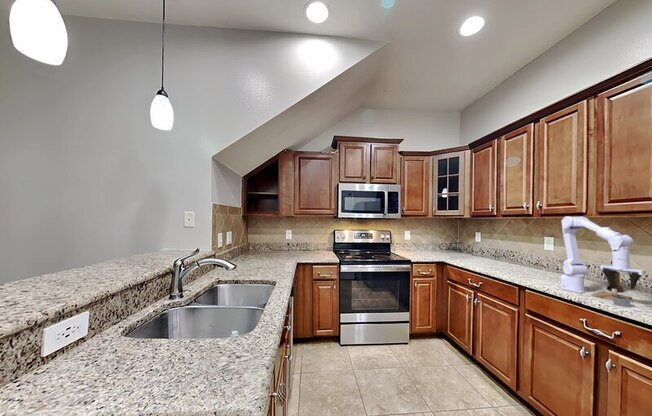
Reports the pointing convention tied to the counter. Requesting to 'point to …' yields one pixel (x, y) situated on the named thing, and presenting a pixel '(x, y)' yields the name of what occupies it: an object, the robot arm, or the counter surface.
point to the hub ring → (621, 301)
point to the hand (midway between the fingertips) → (621, 286)
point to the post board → (608, 295)
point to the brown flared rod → (615, 282)
